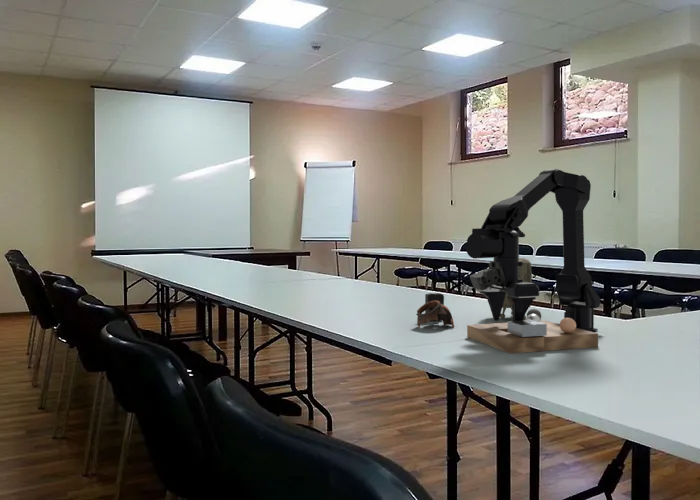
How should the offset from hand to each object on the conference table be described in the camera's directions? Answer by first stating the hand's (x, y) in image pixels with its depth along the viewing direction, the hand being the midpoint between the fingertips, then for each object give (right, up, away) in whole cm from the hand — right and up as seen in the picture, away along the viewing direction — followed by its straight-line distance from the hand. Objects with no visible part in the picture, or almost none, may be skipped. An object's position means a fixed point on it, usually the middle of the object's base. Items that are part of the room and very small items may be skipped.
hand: (506, 323), depth 138 cm
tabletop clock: (+10, -3, +35) cm, 37 cm away
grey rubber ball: (+9, +1, +8) cm, 12 cm away
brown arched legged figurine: (-13, -4, +23) cm, 26 cm away
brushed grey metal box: (+2, -1, -8) cm, 9 cm away
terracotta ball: (+12, 0, -6) cm, 14 cm away
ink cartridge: (-12, -4, +33) cm, 36 cm away
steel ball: (+6, 0, 0) cm, 6 cm away
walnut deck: (+5, -4, 0) cm, 7 cm away
